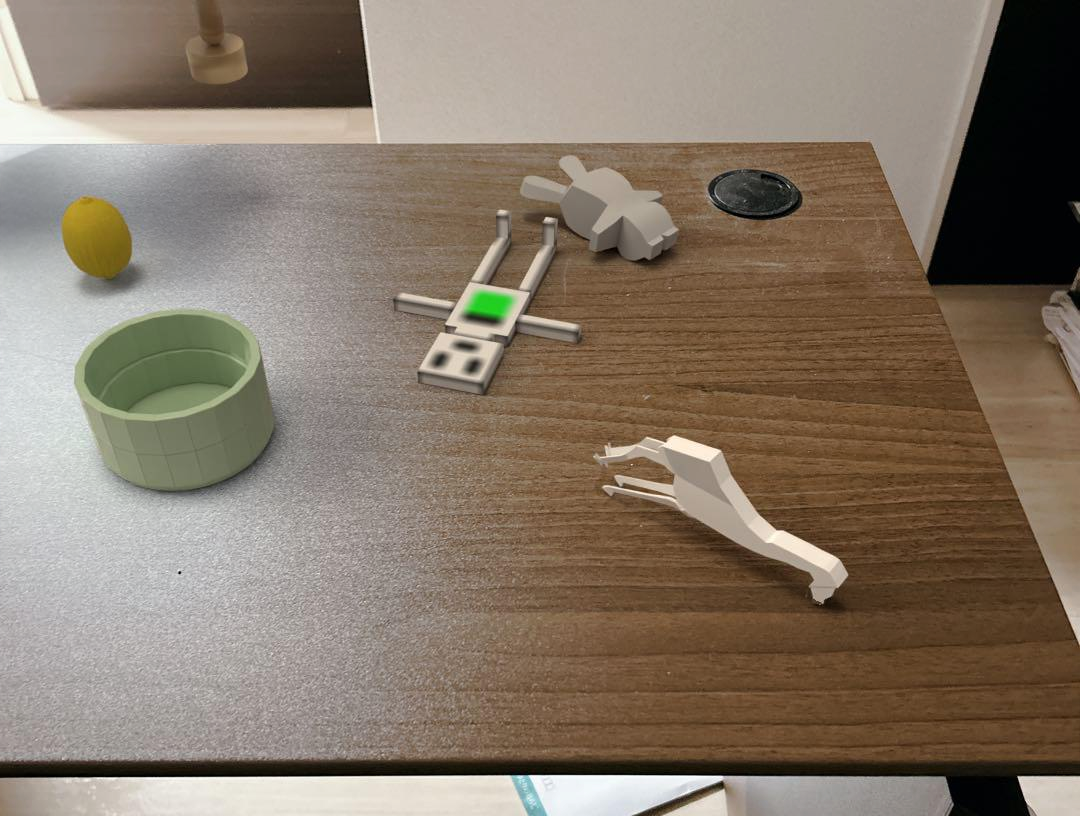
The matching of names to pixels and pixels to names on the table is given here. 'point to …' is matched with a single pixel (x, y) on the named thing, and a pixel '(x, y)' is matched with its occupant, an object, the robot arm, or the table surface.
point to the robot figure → (486, 317)
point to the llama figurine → (722, 505)
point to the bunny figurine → (607, 210)
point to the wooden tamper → (214, 47)
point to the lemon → (96, 237)
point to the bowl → (176, 398)
